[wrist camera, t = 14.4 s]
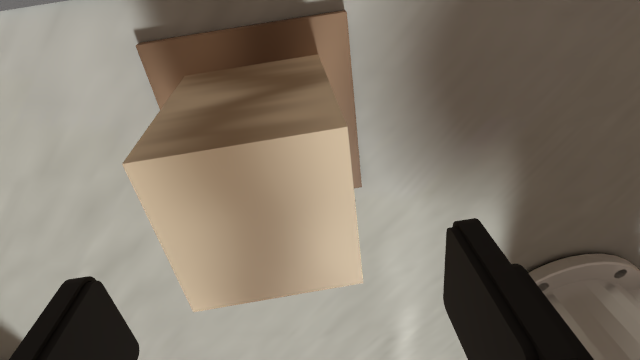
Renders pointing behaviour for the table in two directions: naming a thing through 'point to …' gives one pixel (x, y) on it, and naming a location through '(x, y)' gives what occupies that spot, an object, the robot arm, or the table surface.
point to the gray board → (23, 3)
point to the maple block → (251, 184)
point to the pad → (260, 58)
